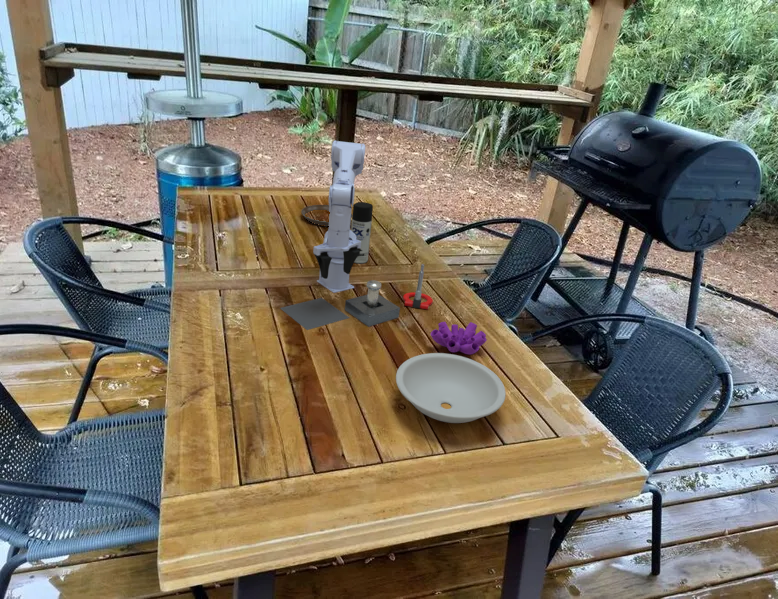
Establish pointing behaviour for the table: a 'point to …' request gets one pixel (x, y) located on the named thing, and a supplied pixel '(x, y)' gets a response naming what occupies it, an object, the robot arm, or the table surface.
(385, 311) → the square hole block
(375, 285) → the pin
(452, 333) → the purple tube coral
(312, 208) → the dark grey ring
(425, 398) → the sink basin
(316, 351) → the table surface
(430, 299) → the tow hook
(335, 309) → the mat
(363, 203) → the spray can
